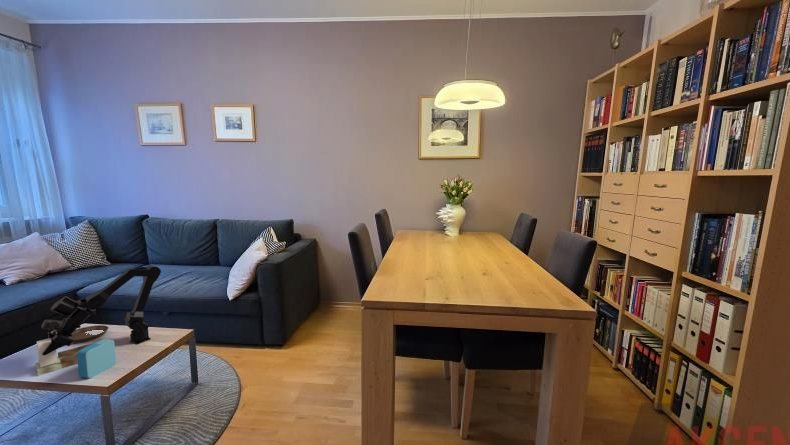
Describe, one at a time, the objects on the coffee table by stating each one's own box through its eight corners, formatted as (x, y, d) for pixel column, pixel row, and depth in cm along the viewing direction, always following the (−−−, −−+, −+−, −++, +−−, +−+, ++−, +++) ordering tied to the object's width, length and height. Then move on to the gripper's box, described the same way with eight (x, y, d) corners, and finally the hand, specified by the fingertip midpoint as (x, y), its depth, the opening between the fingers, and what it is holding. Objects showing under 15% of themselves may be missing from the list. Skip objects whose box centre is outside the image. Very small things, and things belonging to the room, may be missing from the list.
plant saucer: (92, 328, 180) (92, 323, 180) (117, 332, 176) (116, 326, 176) (53, 343, 163) (52, 337, 162) (79, 347, 159) (78, 341, 159)
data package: (107, 363, 145) (105, 337, 144) (116, 364, 144) (114, 338, 143) (78, 378, 133) (75, 351, 132) (88, 379, 133) (85, 352, 131)
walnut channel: (104, 347, 159) (104, 339, 158) (109, 353, 153) (109, 345, 152) (35, 367, 141) (34, 358, 140) (38, 375, 135) (37, 366, 134)
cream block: (55, 358, 144) (53, 337, 143) (57, 362, 141) (54, 340, 140) (39, 363, 140) (36, 341, 139) (40, 367, 137) (37, 345, 136)
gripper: (52, 306, 147) (18, 338, 139) (59, 317, 135) (22, 352, 128) (78, 318, 154) (47, 348, 146) (86, 328, 142) (53, 363, 135)
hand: (42, 353), depth 139 cm, fingers closed on cream block, 5 cm apart
